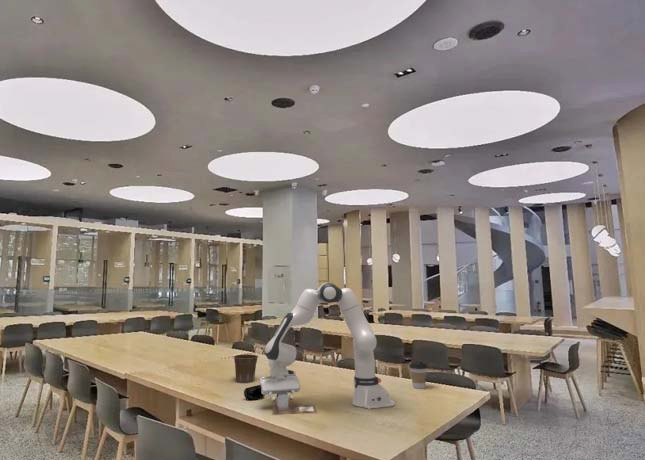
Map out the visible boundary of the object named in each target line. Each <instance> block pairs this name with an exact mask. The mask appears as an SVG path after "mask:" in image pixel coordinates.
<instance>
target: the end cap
mask: <svg viewBox="0 0 645 460" xmlns="http://www.w3.org/2000/svg"><path fill="white" fill-rule="evenodd" d="M243 396H244V398H245V399H246V401H249V402H255V401H260V400H264V399H265V396H266V395H263V394H262V393H261V384H258V385H254V386H250V387H247V388H245V389H244V391H243Z"/></svg>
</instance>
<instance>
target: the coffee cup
mask: <svg viewBox="0 0 645 460" xmlns="http://www.w3.org/2000/svg"><path fill="white" fill-rule="evenodd" d="M408 368H410V374H411V381H412V382H411V383H412V387H413V389H417V390H425V389H426V385H427V374H428V365H427V363H426V362H425V361H411V362H410V364H409V365H408Z"/></svg>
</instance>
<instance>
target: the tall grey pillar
mask: <svg viewBox="0 0 645 460" xmlns="http://www.w3.org/2000/svg"><path fill="white" fill-rule="evenodd" d="M276 406H277V410H278V411H287V410H288V406H289V393H287V392H283V393H277V394H276Z"/></svg>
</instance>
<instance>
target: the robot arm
mask: <svg viewBox="0 0 645 460" xmlns="http://www.w3.org/2000/svg"><path fill="white" fill-rule="evenodd" d="M321 303H325V304H331V303H336V304H337V306H338V307H339V310H340V312H341V315H342V316H343V320H344V322H345V324H346V326H347V328H348V330H349V332H350V334H351V336H352V346H353V347H352V348H353V357H354V376H353V387H354V392H353V397H352V398H353V399H352V405H354V406H356V407H360V408H365V409H370V410H372V409H377V408H378V409H379V408H389V407H395V401H394V400H393V399H391V397H390V393H389V391H388V390H387V389H386V388H385V387H384V386H383V385H381V384H380V383H382V379H381V378H379V377H378V376H377V375H376V361H375V355H374V354H375V353H374V350H375V349H376V347H377V343H378V342H377V341H378V340H377V337H376V335H375V333H374V331H373V329H372V327H371V325H370V323H369V321H368V319H367V318H366V316H365V313H364V311H363V309H362V307H361V304H360V302H359V299H358V298H357V296H356V295H355V293H354V292H353V290H352V289H351V288H348V287H343V288H340V287H339V286H337V285H336V284H334V283H332V282H324V283H322V284H320V286H318V287H317V288H316V289H313V288H305V289H304V290H303V291H302V293H301V295H300V296H299V298H298V300H297V303H296V305H295V306H294V308H293V309H292V310H291V311H290V312H288V313H286V315H285V316H284V317H283V319H282V320H281V322H280V323H279V325H278V327H277V328H276V330H275V332H274V333H273V335H272V336H271V338H270V340H269V341H268V342H267V343H266V344H265V347H264V355H265V356H266V358H267V359H268V365H269V368H270V370H269V373H270V376H262V377H261V378H260V379H259V385H261V393H262V394H263V395H265V396H266V395H268V397H269V399H271V400H270V401H271V402H275V401H276V398H275V396H273V395H277V393H283V392H287V394H291V395H289V400H290V401H293V400H294V394H295V393H299V392H300V390H301V383H300V380H299V378H298V376H297V372H296V370H292V369H287V367H290V366H291V365H292V364H294V362H295V361H296V360H297V358H298V350H297V348H296V346H294V345H291V344H288V343H284V342H282V341H283V339H284V338H285V336H286V334H287V333H288V330H290V328H292V327H294V326H302V325H307V324H308V323H310V322H311V321H312V319H313V317H314V315H315V313H316V310H317V307H318V306H319V304H321Z"/></svg>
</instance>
